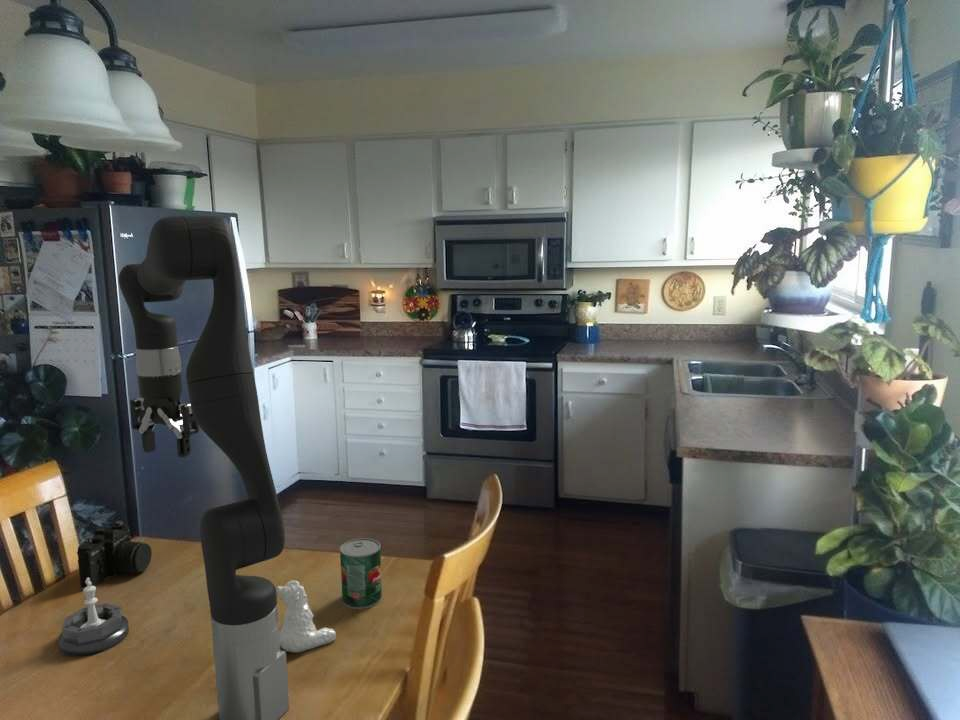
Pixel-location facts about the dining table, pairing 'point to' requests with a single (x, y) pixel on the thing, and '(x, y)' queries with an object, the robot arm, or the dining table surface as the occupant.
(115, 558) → the camera
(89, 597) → the chess piece
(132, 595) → the dining table surface
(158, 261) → the robot arm
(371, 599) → the canned tomato
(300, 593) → the sitting furry creature
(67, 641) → the ashtray
